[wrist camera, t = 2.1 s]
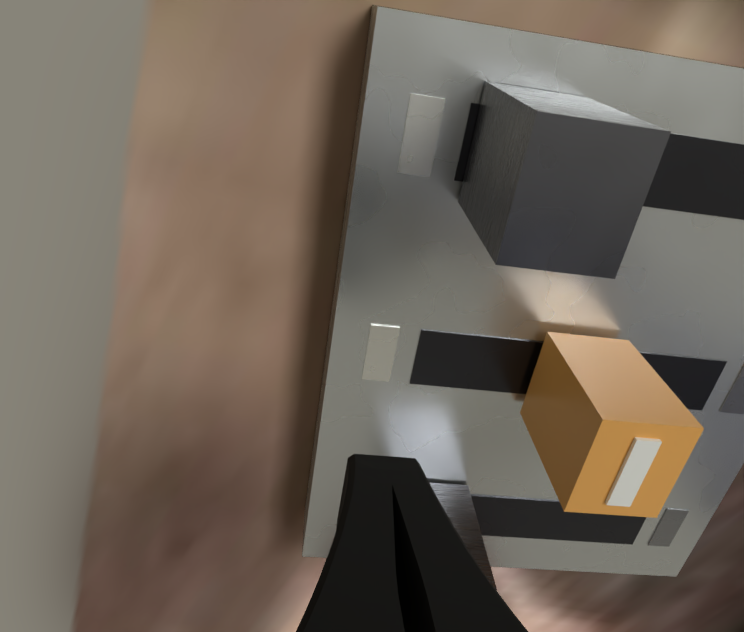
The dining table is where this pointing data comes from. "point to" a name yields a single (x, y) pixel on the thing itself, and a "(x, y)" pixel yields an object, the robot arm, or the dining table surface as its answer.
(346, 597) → the robot arm
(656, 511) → the breaker
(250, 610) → the dining table surface
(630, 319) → the slider control panel
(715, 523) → the dining table surface
